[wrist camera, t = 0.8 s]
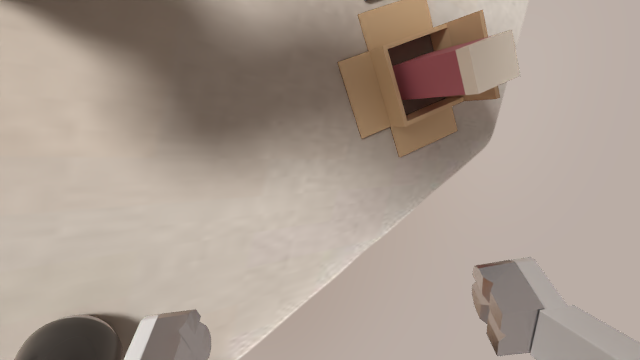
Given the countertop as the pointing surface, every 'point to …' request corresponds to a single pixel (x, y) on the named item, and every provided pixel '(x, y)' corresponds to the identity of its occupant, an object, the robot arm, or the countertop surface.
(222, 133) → the countertop surface
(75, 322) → the black upright egg shape
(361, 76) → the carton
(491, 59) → the burgundy box
